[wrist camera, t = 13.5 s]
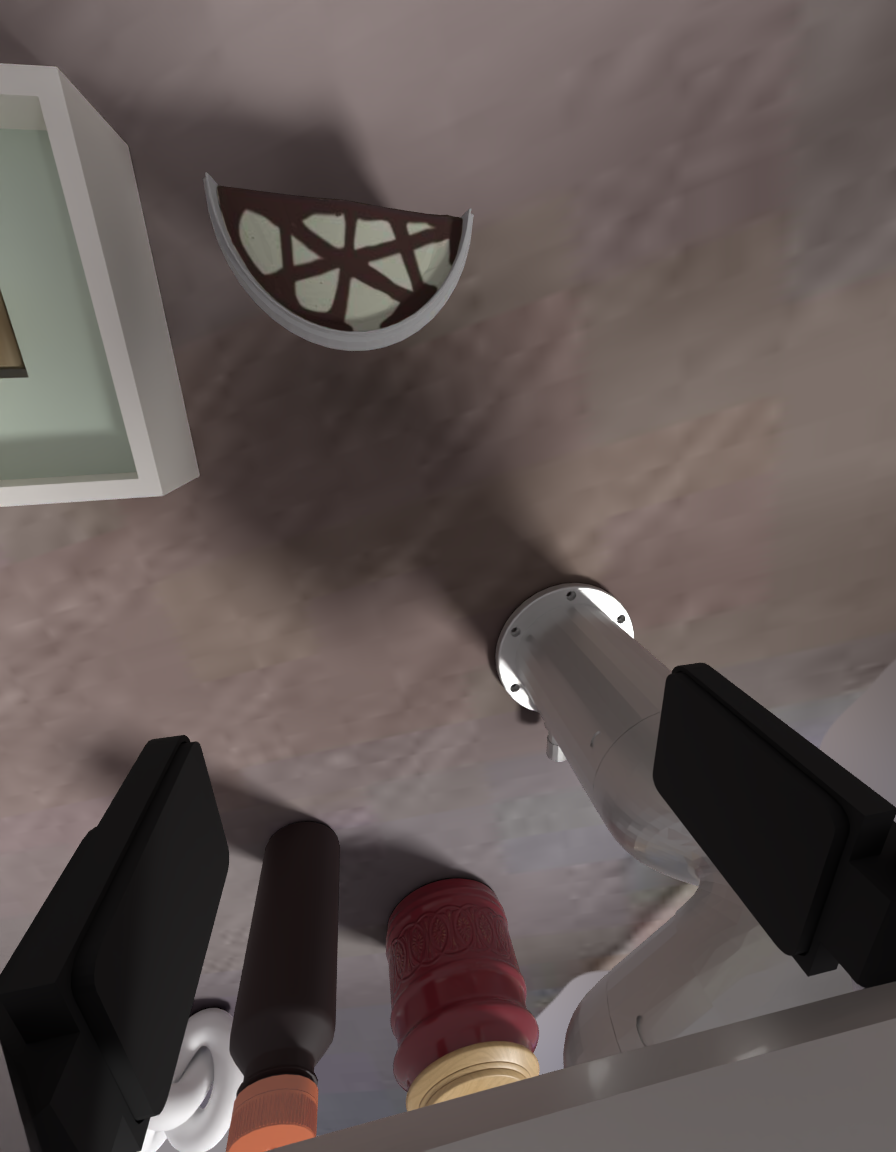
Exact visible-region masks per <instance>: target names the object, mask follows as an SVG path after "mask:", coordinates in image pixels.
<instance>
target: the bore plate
mask: <svg viewBox="0 0 896 1152" xmlns="http://www.w3.org/2000/svg"><path fill="white" fill-rule="evenodd" d="M0 289H1V292H2V296H3V299H4V302H5V305H6V308H7V311H8V314H9V317H10V320H11V324H12V327H13V330H14V333H15V336H16V339H17V342H18V345H19V349H20V352H21V355H22V358H23V361H24V364H25V367H26V370H27V374H28V377H29V378H0V480H11V479H27V478H44V477H61V476H78V475H94V474H111V473H128V472H137V470H136V466H135V462H134V459H133V455H132V451H131V447H130V443H129V440H128V436H127V432H126V428H125V424H124V421H123V417H122V413H121V409H120V405H119V402H118V398H117V394H116V390H115V386H114V383H113V379H112V375H111V371H110V367H109V364H108V360H107V356H106V352H105V348H104V345H103V341H102V337H101V333H100V329H99V326H98V322H97V318H96V314H95V310H94V307H93V303H92V299H91V295H90V291H89V288H88V284H87V280H86V276H85V272H84V269H83V265H82V261H81V257H80V253H79V250H78V246H77V242H76V238H75V234H74V231H73V227H72V223H71V219H70V215H69V212H68V208H67V204H66V200H65V196H64V193H63V189H62V185H61V181H60V177H59V174H58V170H57V166H56V162H55V158H54V155H53V151H52V147H51V143H50V139H49V136H48V132H47V130H23V129H0Z"/></svg>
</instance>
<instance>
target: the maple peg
mask: <svg viewBox="0 0 896 1152" xmlns="http://www.w3.org/2000/svg"><path fill="white" fill-rule="evenodd" d="M0 369H26V367H25V364H24V361H23V358H22V355H21V352H20V349H19V345H18V342H17V339H16V336H15V333H14V330H13V327H12V324H11V320H10V317H9V314H8V311H7V308H6V305H5V302H4V299H3V296H2V292H1V289H0Z"/></svg>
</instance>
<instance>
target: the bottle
mask: <svg viewBox="0 0 896 1152" xmlns="http://www.w3.org/2000/svg"><path fill="white" fill-rule="evenodd" d="M339 867H340V844H339V841H338V837H337V835H336V834H335V833H334V832H333V831H332V829H330V828H328V827H326V826H325V825H323V824H319V823H315V822H298V823H294V824H290V825H288V826H286V827H284V828H282V829H280V830H278V831H277V832H276V833H275V834H274V835H273V836H272V837H271V839H270V840H269V842H268V844H267V846H266V849H265V854H264V859H263V865H262V870H261V875H260V880H259V886H258V891H257V896H256V902H255V907H254V912H253V917H252V923H251V928H250V933H249V938H248V944H247V949H246V954H245V960H244V965H243V970H242V975H241V981H240V986H239V991H238V997H237V1002H236V1007H235V1012H234V1018H233V1023H232V1028H231V1033H230V1045H229V1051H230V1055H231V1057H232V1059H233V1061H234V1062H235V1064H236V1066H237V1067H238V1069H239V1070H240V1071H241V1073H242V1074H243V1076H244V1079H243V1082H242V1083H241V1085H240V1086H239V1088H238V1090H237V1093H236V1099H235V1101H234V1106H233V1112H232V1118H231V1124H230V1130H229V1136H228V1142H227V1148H226V1152H265V1151H268V1150H272V1149H275V1148H278V1147H282V1146H285V1145H289V1144H292V1143H296V1142H299V1141H303V1140H307V1139H310V1138H314V1137H316V1128H317V1104H318V1088H317V1084H318V1079H317V1077H316V1075H315V1073H314V1067H315V1065H316V1064H317V1063H318V1062H319V1060H320V1059H321V1058H322V1056H323V1055H324V1054H325V1052H326V1050H327V1049H328V1047H329V1046H330V1044H331V1043H332V1041H333V1037H334V1031H335V1022H336V983H337V945H338V906H339Z"/></svg>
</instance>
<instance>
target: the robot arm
mask: <svg viewBox="0 0 896 1152" xmlns="http://www.w3.org/2000/svg"><path fill="white" fill-rule="evenodd" d="M568 592H569V593H568ZM567 593H568V594H567ZM513 628H514V629H513ZM512 629H513V630H512ZM495 661H496V670H497V673H498V675H499V678H500V681H501V683H502V684H503V686H504V688H505V690H506V691H507V693H508V694H509V695H510V696H511V698H512V699H513V700H515V701H516V702H517V703H519V704H520V705H521V706H523V707H525V708H527V709H529V710H532V711H536V712H539V713H540V715H541V717H542V718H543V720H544V724H545V728H546V729H547V730H548V737H547V752H546V754H547V756H548V758H550V759H551V760H553V761H556V762H562V761H564V760H566V759H567V761H568V763H569V764H570V766H571V768H572V769H573V771H574V773H575V774H576V776H577V778H578V780H579V781H580V783H581V785H582V786H583V788H584V790H585V791H586V793H587V795H588V797H589V798H590V800H591V802H592V803H593V805H594V807H595V808H596V810H597V812H598V813H599V815H600V817H601V818H602V820H603V822H604V823H605V825H606V827H607V828H608V830H609V831H610V833H611V834H612V835H613V837H614V838H615V839H616V841H617V842H618V843H619V844H620V845H621V846H622V847H623V848H624V849H625V850H626V851H627V852H628V853H629V854H631V855H632V856H633V857H634V858H635V859H637V860H638V861H640V862H641V863H643V864H645V865H647V866H648V867H650V868H652V869H654V870H656V871H658V872H660V873H663V874H665V875H668V876H670V877H673V878H675V879H678V880H681V881H684V882H687V883H690V884H693V885H696V886H699V887H698V889H697V891H696V892H695V894H694V895H693V896H692V897H691V898H690V899H689V900H688V901H687V902H686V903H685V904H684V905H683V906H682V907H681V908H680V909H679V910H677V912H676V913H675V915H674V916H673V917H672V918H671V919H670V920H668V921H667V922H666V923H665V924H664V925H663V926H661V927H660V928H659V929H658V930H657V931H656V932H654V933H653V934H652V935H651V936H650V937H649V938H647V939H646V940H645V941H644V942H643V943H642V944H640V945H639V946H638V947H637V948H636V949H635V950H633V951H632V952H631V953H630V954H629V955H628V956H626V957H625V958H624V959H623V960H622V961H621V962H619V963H618V964H617V965H616V966H615V967H614V968H612V970H611V971H610V972H609V973H608V974H607V975H605V976H604V977H603V978H602V979H601V980H600V981H599V982H598V983H597V984H596V985H595V986H594V987H593V988H592V989H591V990H590V991H589V992H588V993H587V994H586V995H585V997H584V998H583V999H582V1001H581V1002H580V1003H579V1005H578V1007H577V1008H576V1010H575V1012H574V1013H573V1016H572V1018H571V1020H570V1023H569V1026H568V1029H567V1033H566V1038H565V1044H564V1053H563V1056H564V1069H561V1070H557V1071H554V1072H550V1073H546V1074H542V1075H539V1076H535V1077H531V1078H528V1079H524V1080H520V1081H516V1082H513V1083H509V1084H505V1085H502V1086H498V1087H494V1088H491V1089H487V1090H483V1091H480V1092H476V1093H473V1094H469V1095H465V1096H462V1097H458V1098H455V1099H451V1100H447V1101H444V1102H440V1103H436V1104H433V1105H429V1106H426V1107H422V1108H418V1109H415V1110H411V1111H408V1112H404V1113H400V1114H397V1115H393V1116H390V1117H386V1118H382V1119H379V1120H375V1121H372V1122H368V1123H364V1124H361V1125H357V1126H354V1127H350V1128H346V1129H343V1130H339V1131H335V1132H332V1133H328V1134H325V1135H321V1136H317V1137H314V1138H310V1139H307V1140H303V1141H299V1142H296V1143H292V1144H289V1145H285V1146H282V1147H278V1148H275V1149H272V1150H268V1151H265V1152H896V823H895V822H894V821H893V820H894V818H895V815H896V807H895V806H893V805H892V804H890V803H889V802H888V801H887V800H885V799H884V798H883V797H881V796H880V795H879V794H877V793H876V792H874V791H873V790H872V789H871V788H870V787H868V786H867V785H866V784H864V783H863V782H861V781H860V780H859V779H858V778H856V777H855V776H854V775H852V774H851V773H850V772H848V771H847V770H846V769H845V768H843V767H842V766H841V765H839V764H838V763H836V762H835V761H834V760H833V759H831V758H830V757H829V756H827V755H826V754H825V753H824V752H822V751H821V750H820V749H818V748H817V747H816V746H814V745H813V744H812V743H810V742H809V741H808V740H806V739H805V738H804V737H802V736H801V735H800V734H799V733H797V732H796V731H795V730H793V729H792V728H791V727H789V726H788V725H787V724H785V723H784V722H783V721H781V720H780V719H779V718H777V717H776V716H775V715H774V714H772V713H771V712H770V711H768V710H767V709H766V708H764V707H763V706H762V705H760V704H759V703H758V702H756V701H755V700H754V699H752V698H751V697H750V696H749V695H747V694H746V693H745V692H743V691H742V690H741V689H739V688H738V687H737V686H735V685H734V684H733V683H731V682H730V681H729V680H727V679H726V678H725V677H724V676H722V675H721V674H720V673H718V672H717V671H716V670H714V669H713V668H712V667H710V666H709V665H707V664H705V663H695V664H688V665H681V666H677V667H675V668H674V669H673V671H671V670H670V669H668V668H667V667H666V666H665V665H664V664H663V663H661V662H660V661H659V660H658V659H657V658H656V657H655V656H653V655H652V654H651V653H650V652H649V651H648V650H646V649H645V648H644V647H643V646H642V645H641V644H640V643H638V642H637V641H636V640H635V639H634V631H633V626H632V621H631V619H630V617H629V615H628V612H627V611H626V609H625V608H624V607H623V605H622V604H621V603H620V602H619V601H618V600H617V599H616V598H614V597H613V596H612V595H611V594H609V593H608V592H606V591H604V590H603V589H601V588H598V587H596V586H593V585H590V584H582V583H566V584H560V585H556V586H552V587H549V588H547V589H545V590H542V591H540V592H538V593H536V594H535V595H533V596H532V597H530V598H529V599H527V600H525V601H524V602H523V603H522V604H521V605H520V606H519V607H518V608H517V609H516V610H515V611H514V612H513V613H512V615H511V616H510V617H509V619H508V620H507V621H506V623H505V625H504V627H503V629H502V631H501V633H500V635H499V639H498V642H497V645H496V654H495ZM228 866H229V850H228V845H227V841H226V838H225V834H224V830H223V827H222V823H221V819H220V815H219V812H218V808H217V804H216V801H215V797H214V793H213V790H212V786H211V782H210V778H209V775H208V771H207V767H206V764H205V760H204V756H203V753H202V749H201V746H200V744H199V743H198V742H190V740H189V738H188V737H187V736H185V735H181V736H173V737H166V738H159V739H152V740H150V741H148V743H147V744H146V745H145V747H144V749H143V750H142V752H141V754H140V755H139V757H138V759H137V760H136V762H135V764H134V765H133V767H132V769H131V770H130V772H129V774H128V775H127V777H126V779H125V781H124V782H123V784H122V786H121V787H120V789H119V791H118V792H117V794H116V796H115V797H114V799H113V801H112V802H111V804H110V806H109V807H108V809H107V811H106V812H105V814H104V816H103V818H102V819H101V821H100V823H99V824H98V826H97V827H95V828H93V829H92V830H91V831H89V832H88V834H87V835H86V836H85V837H84V839H83V840H82V842H81V843H80V845H79V847H78V848H77V850H76V851H75V853H74V855H73V856H72V858H71V860H70V861H69V863H68V865H67V866H66V868H65V869H64V871H63V873H62V874H61V876H60V878H59V879H58V881H57V883H56V884H55V886H54V888H53V889H52V891H51V892H50V894H49V896H48V897H47V899H46V901H45V902H44V904H43V906H42V907H41V909H40V910H39V912H38V914H37V915H36V917H35V919H34V920H33V922H32V924H31V925H30V927H29V929H28V930H27V932H26V933H25V935H24V937H23V938H22V940H21V942H20V943H19V945H18V947H17V948H16V950H15V952H14V953H13V955H12V956H11V958H10V960H9V961H8V963H7V965H6V966H5V968H4V970H3V971H2V973H1V974H0V1152H139V1151H141V1150H142V1146H143V1143H144V1139H145V1135H146V1132H147V1128H148V1125H149V1121H150V1118H151V1117H154V1116H157V1115H160V1113H161V1112H162V1111H163V1108H164V1106H165V1104H166V1101H167V1098H168V1095H169V1091H170V1087H171V1084H172V1080H173V1076H174V1072H175V1069H176V1065H177V1061H178V1057H179V1053H180V1050H181V1046H182V1042H183V1038H184V1035H185V1031H186V1027H187V1023H188V1019H189V1016H190V1012H191V1008H192V1004H193V1000H194V997H195V993H196V989H197V985H198V982H199V978H200V974H201V970H202V966H203V963H204V959H205V955H206V951H207V948H208V944H209V940H210V936H211V932H212V929H213V925H214V921H215V917H216V913H217V910H218V906H219V902H220V898H221V895H222V891H223V887H224V883H225V879H226V876H227V872H228Z"/></svg>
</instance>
